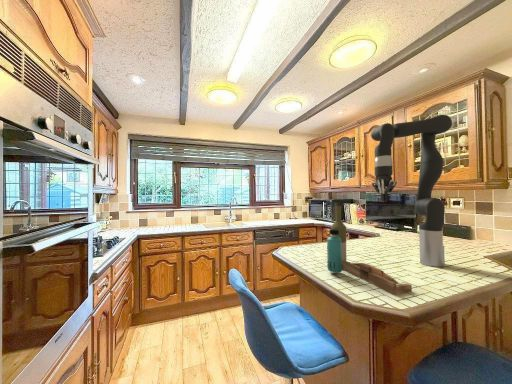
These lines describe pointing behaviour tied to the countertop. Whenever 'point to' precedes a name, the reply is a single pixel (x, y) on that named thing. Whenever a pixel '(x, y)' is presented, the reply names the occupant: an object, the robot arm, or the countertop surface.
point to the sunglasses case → (380, 273)
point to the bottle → (340, 231)
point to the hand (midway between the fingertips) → (384, 201)
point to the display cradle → (376, 278)
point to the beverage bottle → (334, 252)
